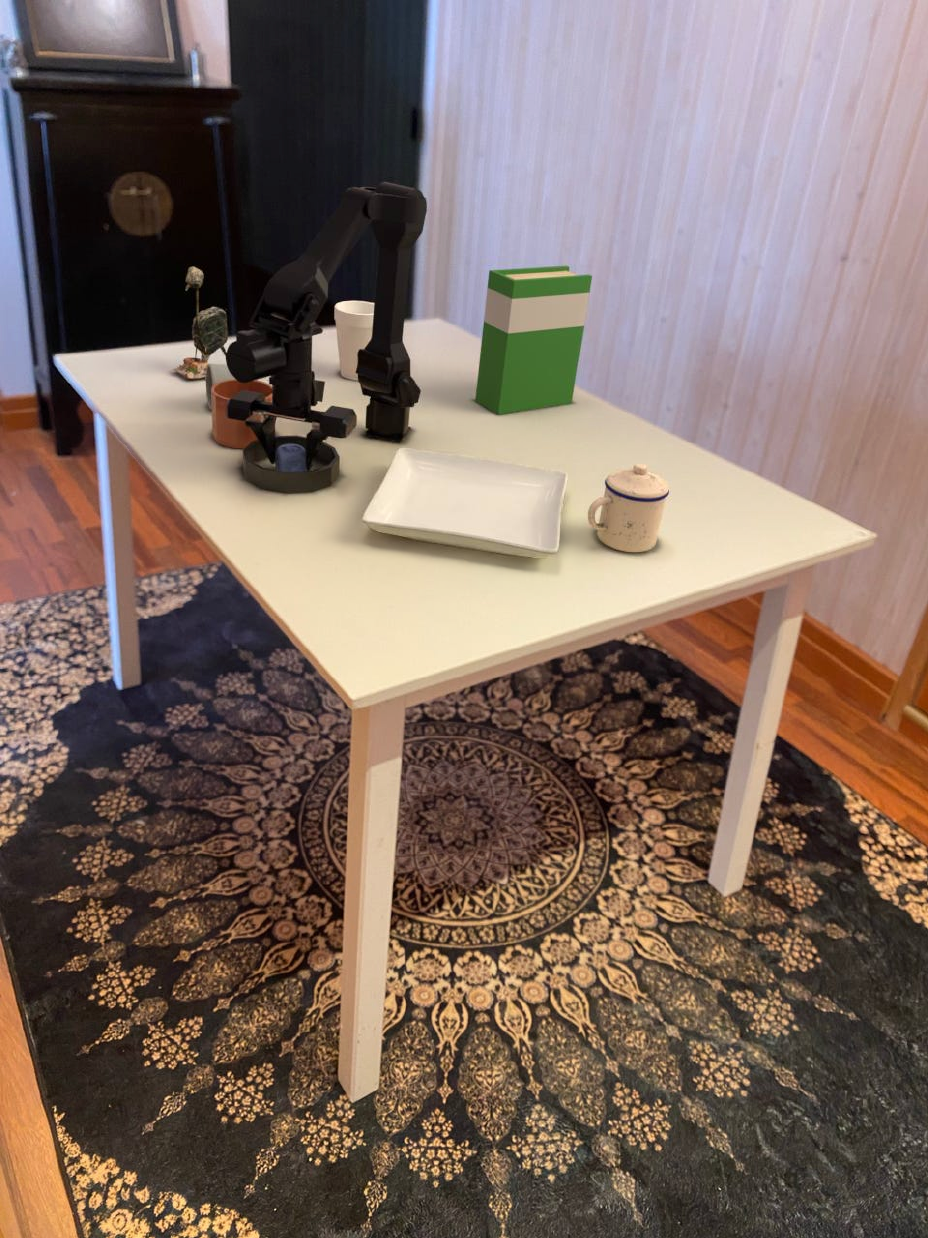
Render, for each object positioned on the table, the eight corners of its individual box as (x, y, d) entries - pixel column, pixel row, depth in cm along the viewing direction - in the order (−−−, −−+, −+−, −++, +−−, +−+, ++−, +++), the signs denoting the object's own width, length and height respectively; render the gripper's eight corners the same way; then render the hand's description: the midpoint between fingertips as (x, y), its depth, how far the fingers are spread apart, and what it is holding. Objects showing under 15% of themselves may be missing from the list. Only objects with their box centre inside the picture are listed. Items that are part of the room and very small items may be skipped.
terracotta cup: (284, 431, 169) (284, 385, 165) (261, 453, 161) (260, 405, 156) (228, 421, 170) (227, 375, 166) (202, 442, 162) (200, 394, 158)
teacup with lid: (633, 521, 153) (648, 449, 146) (669, 549, 146) (686, 475, 140) (566, 531, 147) (579, 457, 141) (600, 561, 141) (615, 484, 135)
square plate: (358, 543, 138) (359, 518, 136) (397, 466, 161) (399, 443, 159) (554, 573, 136) (558, 548, 134) (565, 491, 160) (569, 468, 158)
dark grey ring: (349, 463, 160) (350, 445, 159) (319, 499, 149) (319, 479, 147) (265, 448, 162) (265, 429, 161) (228, 482, 151) (228, 462, 149)
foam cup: (325, 377, 194) (326, 308, 187) (343, 363, 201) (346, 297, 194) (371, 386, 192) (374, 317, 185) (388, 372, 199) (392, 306, 192)
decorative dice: (274, 468, 156) (274, 444, 154) (299, 466, 158) (300, 442, 156) (282, 479, 153) (282, 454, 151) (307, 476, 155) (308, 452, 153)
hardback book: (548, 390, 200) (566, 265, 187) (571, 402, 195) (592, 275, 182) (475, 400, 191) (489, 270, 178) (498, 414, 186) (514, 281, 173)
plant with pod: (240, 376, 190) (238, 266, 179) (182, 383, 183) (177, 270, 173) (222, 362, 195) (219, 255, 184) (165, 369, 189) (159, 258, 178)
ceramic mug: (260, 413, 174) (260, 370, 170) (213, 416, 171) (211, 371, 167) (247, 393, 183) (246, 351, 179) (201, 395, 180) (199, 352, 176)
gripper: (370, 362, 152) (365, 458, 160) (253, 342, 155) (254, 437, 163) (346, 384, 143) (342, 485, 151) (222, 363, 145) (226, 463, 154)
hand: (291, 466), depth 155 cm, fingers closed on decorative dice, 5 cm apart
